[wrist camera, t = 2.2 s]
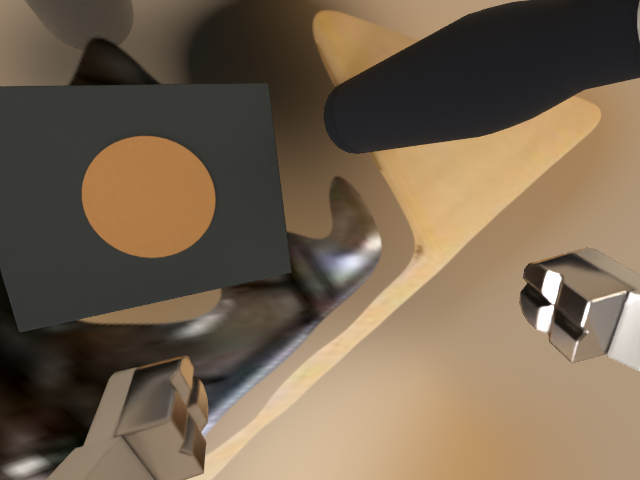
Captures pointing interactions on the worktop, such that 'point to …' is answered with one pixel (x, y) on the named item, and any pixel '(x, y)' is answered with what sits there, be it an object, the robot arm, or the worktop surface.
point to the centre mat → (135, 195)
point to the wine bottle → (486, 73)
